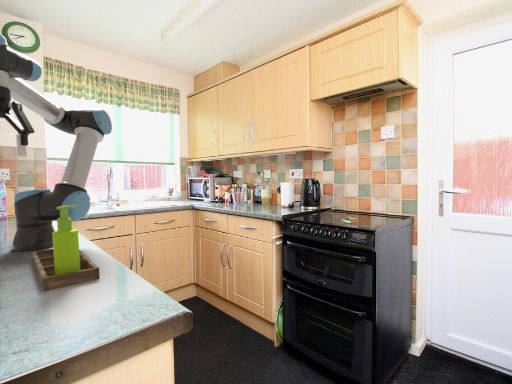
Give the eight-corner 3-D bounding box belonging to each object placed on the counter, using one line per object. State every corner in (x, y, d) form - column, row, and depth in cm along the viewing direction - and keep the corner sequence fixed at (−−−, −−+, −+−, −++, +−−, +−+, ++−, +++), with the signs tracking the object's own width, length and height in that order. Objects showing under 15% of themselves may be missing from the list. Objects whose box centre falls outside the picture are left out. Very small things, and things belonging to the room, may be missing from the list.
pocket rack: (32, 260, 99) (31, 251, 98) (75, 253, 107) (74, 245, 107) (43, 291, 72) (43, 279, 72) (99, 278, 80) (98, 267, 80)
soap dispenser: (88, 274, 83) (84, 204, 81) (64, 282, 76) (58, 207, 75) (75, 271, 85) (71, 204, 84) (50, 279, 79) (45, 206, 78)
